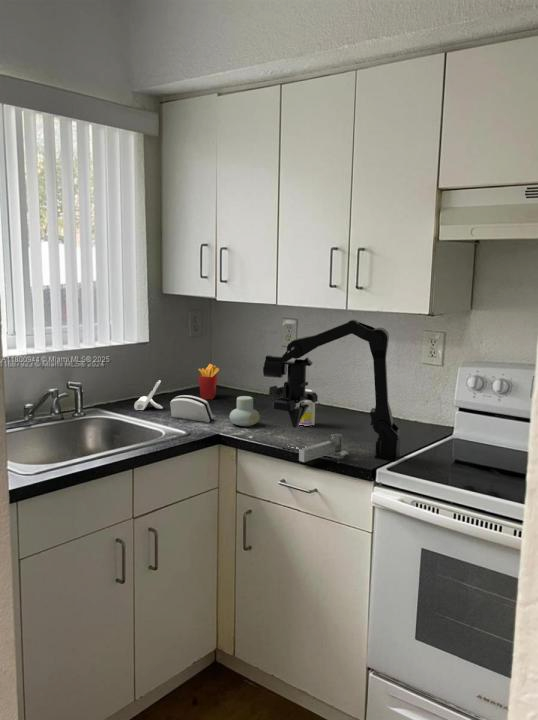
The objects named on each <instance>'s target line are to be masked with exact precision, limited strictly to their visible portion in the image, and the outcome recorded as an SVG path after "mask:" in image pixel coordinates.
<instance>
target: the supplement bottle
mask: <svg viewBox="0 0 538 720" xmlns="http://www.w3.org/2000/svg"><path fill="white" fill-rule="evenodd" d="M305 391H307V392H314V390H313V389H307V388H305ZM304 402H305V405H309V407H308V408H307V409H306V411H305V413H304V415H303V417H302V419H301V420H300V422H299V425H304V426H309V425H313V426H315V422H316V419H315V418H316V402H314V403H313V402H312V401H311V400H306V401H304ZM299 425H298V426H299Z"/></svg>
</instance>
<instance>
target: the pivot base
mask: <svg viewBox="0 0 538 720" xmlns="http://www.w3.org/2000/svg"><path fill="white" fill-rule="evenodd" d="M349 453H350V452H349V451H345V450H342V451H341V452H339V453H332V454H329V455H326V456H330V457H334V458H342V457H344V456H345V455H347V454H349ZM334 458H333V459H334ZM344 458H345V457H344ZM342 459H343V458H342Z"/></svg>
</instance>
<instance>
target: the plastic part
mask: <svg viewBox="0 0 538 720" xmlns="http://www.w3.org/2000/svg"><path fill="white" fill-rule="evenodd" d="M161 381H162V380H160V379H158V381H156V383H155V385H154V387H152V389H153V390H151V391H150V392H149V394H148V396H145V395H144V396H140V398H138V400H136V401H135V402H134V405H133V406H134V410H135V411H137V410H143V411H144V410H145V409H146V408H147V407H148V404H149V403H150V405H152V406H153V407H154V408H155V409H158V410H161V409H163V406H162V405H161V404H159V403H156V402H155V401H154V400H153V396H154V395H155V393H156V391H157V390H158V388H159V387H160V384H161Z"/></svg>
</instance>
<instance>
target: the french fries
mask: <svg viewBox="0 0 538 720" xmlns="http://www.w3.org/2000/svg"><path fill="white" fill-rule="evenodd" d="M197 370H198V371H199V372H200V375H199V376H198V386H199V395H200V397H199V398H201V399H203V400H207V399H211V400H210V401H212V400H213V399H215V398H216V391H217V382H218V374H217V373H219V370H220V368H219V367H216V365H213V364H212V363H209V364H208V366H207V367H206V368H203V367H202V368H198V369H197Z"/></svg>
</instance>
